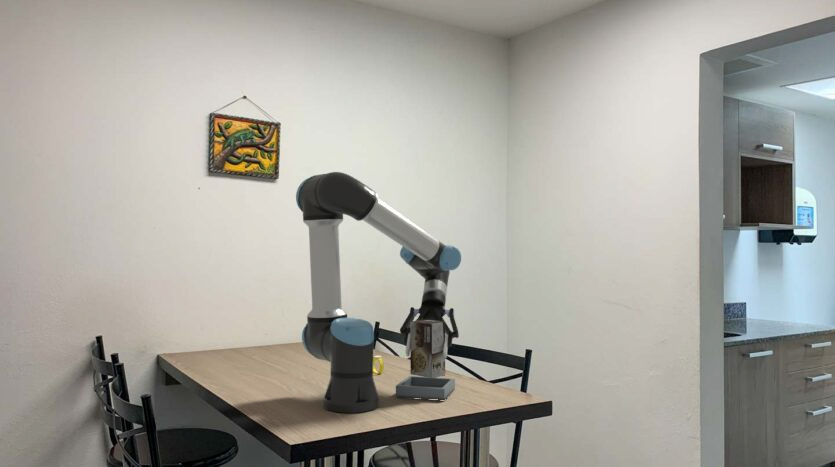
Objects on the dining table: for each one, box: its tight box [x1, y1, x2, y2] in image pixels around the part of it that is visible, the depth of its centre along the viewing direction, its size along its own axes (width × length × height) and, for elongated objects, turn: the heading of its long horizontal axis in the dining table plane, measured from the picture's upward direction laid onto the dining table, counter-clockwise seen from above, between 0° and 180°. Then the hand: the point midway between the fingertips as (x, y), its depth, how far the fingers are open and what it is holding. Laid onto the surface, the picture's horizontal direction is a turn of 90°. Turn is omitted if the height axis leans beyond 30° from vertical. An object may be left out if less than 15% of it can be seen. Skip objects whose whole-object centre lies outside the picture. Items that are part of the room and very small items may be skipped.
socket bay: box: [395, 375, 456, 401], centre depth 183 cm, size 14×14×4 cm
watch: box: [373, 355, 384, 375], centre depth 214 cm, size 6×3×6 cm, turn 37°
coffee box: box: [409, 319, 446, 378], centre depth 184 cm, size 9×6×16 cm
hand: (426, 354), depth 181 cm, fingers closed on coffee box, 11 cm apart
